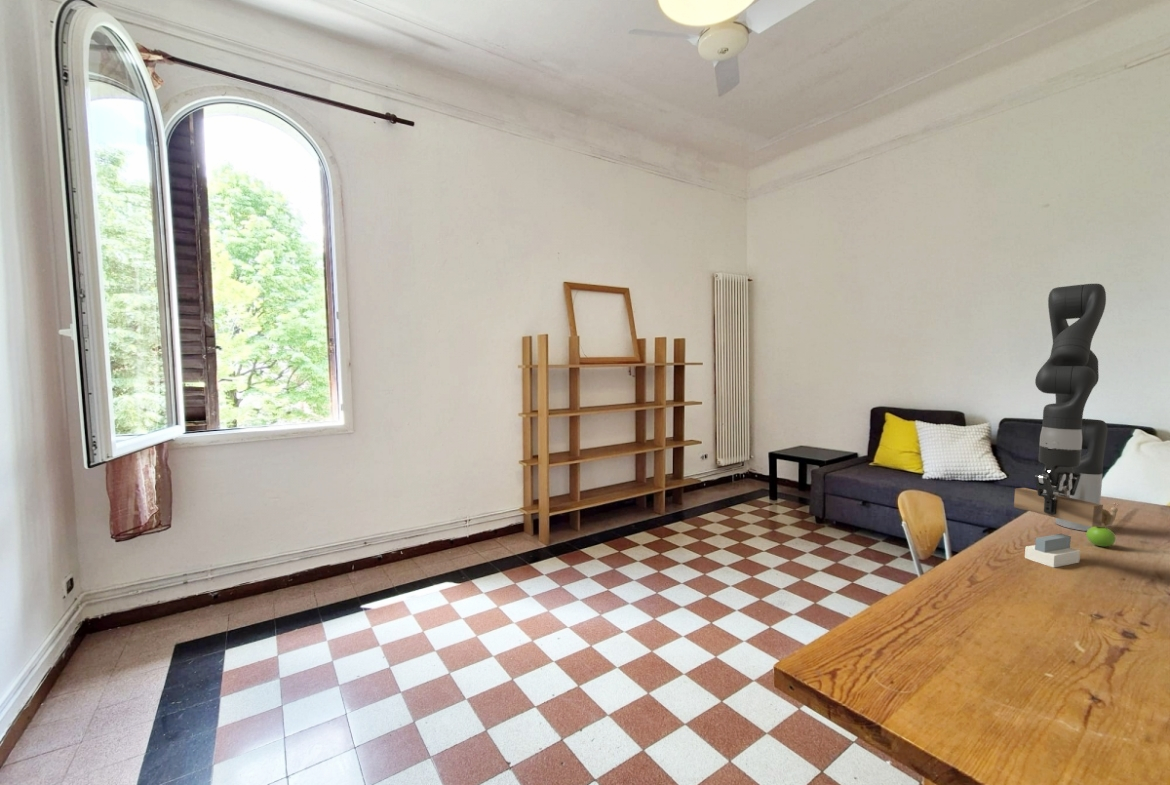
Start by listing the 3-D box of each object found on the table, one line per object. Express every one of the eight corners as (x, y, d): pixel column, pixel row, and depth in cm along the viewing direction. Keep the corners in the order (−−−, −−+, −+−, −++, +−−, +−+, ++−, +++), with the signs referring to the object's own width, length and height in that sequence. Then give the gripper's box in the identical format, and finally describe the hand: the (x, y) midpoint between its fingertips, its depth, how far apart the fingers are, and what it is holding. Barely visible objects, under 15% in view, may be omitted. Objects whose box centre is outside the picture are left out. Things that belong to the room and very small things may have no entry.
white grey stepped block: (1050, 553, 127) (1051, 531, 126) (1079, 562, 121) (1081, 539, 121) (1024, 557, 124) (1026, 535, 123) (1053, 567, 118) (1055, 543, 118)
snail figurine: (1124, 550, 129) (1128, 506, 128) (1100, 549, 129) (1103, 505, 129) (1103, 542, 135) (1106, 500, 134) (1079, 542, 135) (1083, 500, 134)
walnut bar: (1022, 505, 130) (1023, 487, 129) (1101, 525, 115) (1102, 504, 114) (1013, 507, 129) (1015, 488, 128) (1092, 526, 114) (1093, 506, 113)
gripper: (1059, 441, 126) (1054, 506, 127) (1023, 444, 122) (1019, 511, 123) (1097, 446, 119) (1091, 515, 120) (1060, 449, 115) (1055, 520, 116)
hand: (1055, 512), depth 122 cm, fingers closed on walnut bar, 3 cm apart
